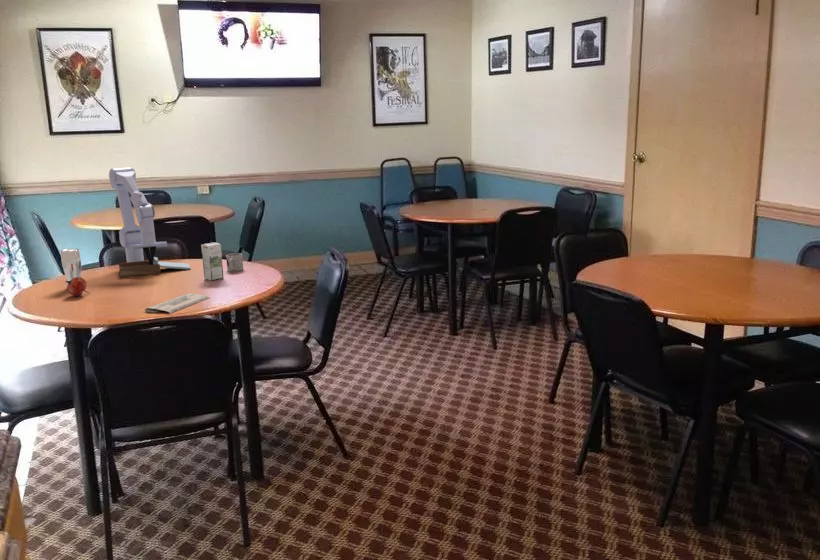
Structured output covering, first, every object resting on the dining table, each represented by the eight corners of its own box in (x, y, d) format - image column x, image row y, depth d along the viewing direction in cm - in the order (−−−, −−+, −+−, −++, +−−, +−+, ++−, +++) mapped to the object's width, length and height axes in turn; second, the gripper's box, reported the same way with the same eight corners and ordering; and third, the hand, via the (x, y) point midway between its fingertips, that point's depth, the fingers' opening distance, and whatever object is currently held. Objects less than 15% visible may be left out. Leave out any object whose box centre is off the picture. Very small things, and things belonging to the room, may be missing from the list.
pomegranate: (84, 298, 274) (59, 286, 268) (94, 282, 274) (70, 270, 268) (86, 304, 268) (60, 292, 262) (97, 288, 268) (71, 275, 262)
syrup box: (216, 276, 292) (213, 241, 289) (224, 278, 288) (220, 243, 285) (204, 279, 288) (200, 244, 285) (211, 281, 284) (207, 245, 281)
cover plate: (152, 262, 312) (153, 256, 312) (188, 265, 318) (188, 259, 318) (153, 267, 303) (154, 260, 302) (190, 269, 309) (191, 263, 308)
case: (119, 272, 309) (118, 263, 308) (158, 268, 315) (157, 259, 314) (120, 277, 297) (119, 268, 296) (160, 273, 303) (159, 264, 302)
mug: (230, 268, 308) (228, 253, 306) (245, 268, 307) (243, 253, 306) (223, 273, 298) (221, 258, 296) (238, 273, 298) (237, 257, 296)
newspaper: (182, 297, 261) (182, 291, 261) (210, 302, 257) (210, 296, 257) (138, 313, 241) (138, 306, 240) (168, 319, 237) (168, 312, 236)
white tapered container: (72, 285, 287) (66, 248, 284) (88, 285, 286) (82, 248, 283) (61, 289, 280) (56, 251, 277) (78, 289, 279) (72, 251, 276)
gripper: (129, 236, 298) (133, 268, 301) (166, 232, 303) (169, 264, 306) (129, 234, 304) (133, 265, 307) (164, 230, 310) (168, 261, 313)
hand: (151, 264), depth 307 cm, fingers closed
